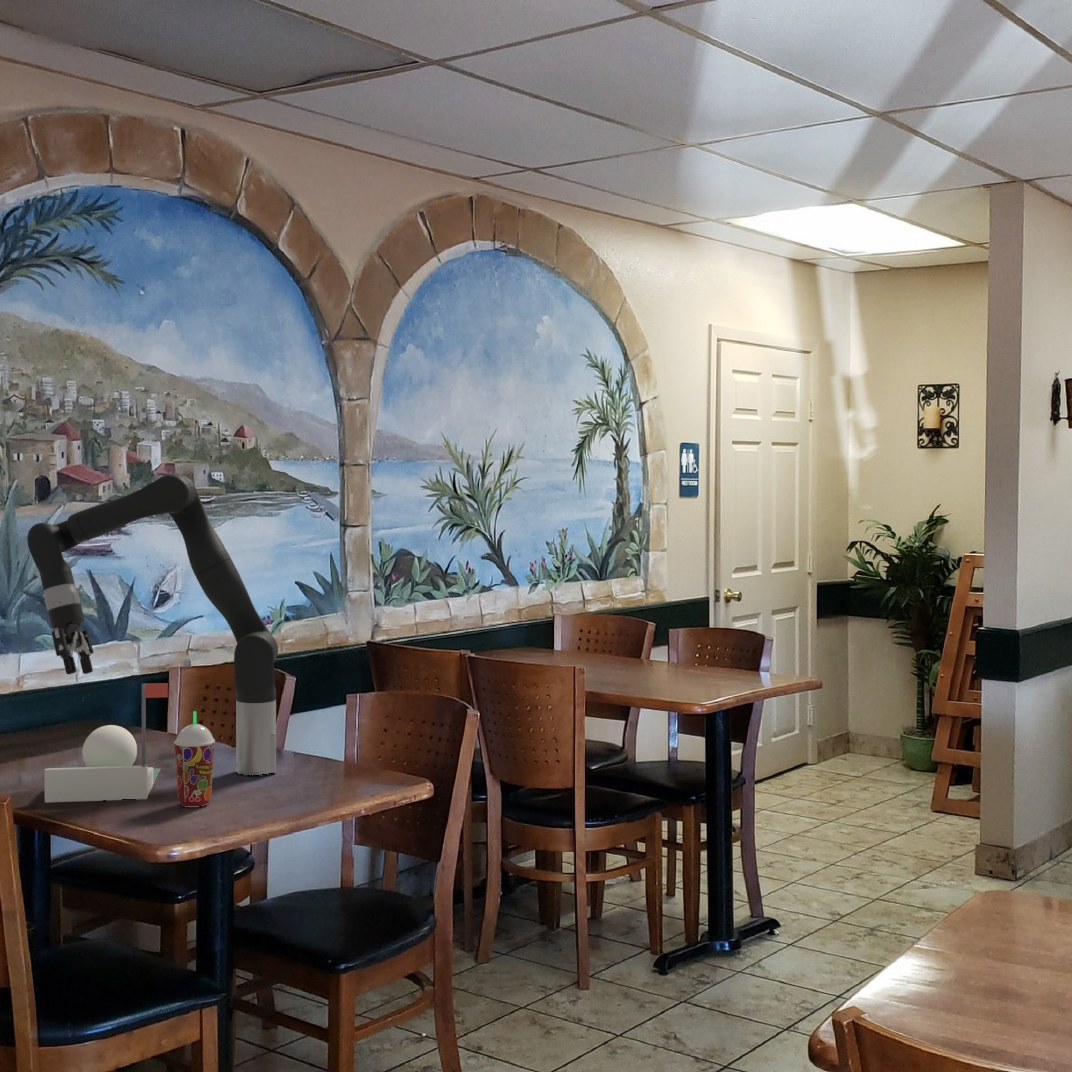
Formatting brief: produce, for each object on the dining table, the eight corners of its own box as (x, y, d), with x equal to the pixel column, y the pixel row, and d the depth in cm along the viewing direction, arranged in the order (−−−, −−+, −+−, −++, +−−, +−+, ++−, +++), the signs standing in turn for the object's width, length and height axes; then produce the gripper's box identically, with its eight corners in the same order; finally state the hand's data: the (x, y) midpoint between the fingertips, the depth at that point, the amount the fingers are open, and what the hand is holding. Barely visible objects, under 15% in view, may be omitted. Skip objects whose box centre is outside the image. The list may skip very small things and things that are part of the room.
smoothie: (204, 810, 270) (204, 715, 269) (167, 808, 271) (167, 713, 271) (221, 801, 278) (221, 709, 277) (185, 799, 280) (185, 707, 279)
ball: (139, 770, 305) (139, 720, 305) (133, 782, 294) (133, 729, 293) (86, 772, 303) (86, 721, 303) (78, 783, 291) (78, 731, 291)
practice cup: (178, 769, 309) (178, 665, 308) (167, 798, 280) (167, 683, 279) (68, 772, 304) (67, 666, 303) (44, 802, 275) (44, 686, 274)
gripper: (64, 600, 294) (81, 669, 292) (92, 602, 308) (108, 668, 306) (34, 609, 294) (50, 678, 292) (62, 611, 308) (78, 677, 307)
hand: (80, 673), depth 299 cm, fingers open, 8 cm apart
